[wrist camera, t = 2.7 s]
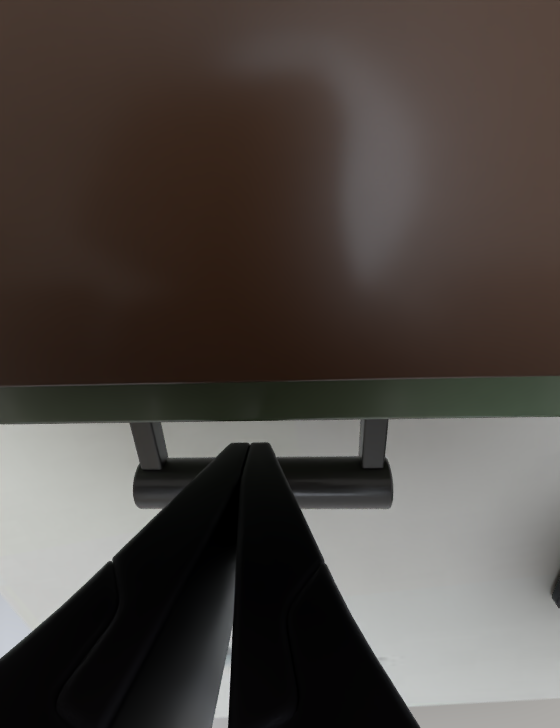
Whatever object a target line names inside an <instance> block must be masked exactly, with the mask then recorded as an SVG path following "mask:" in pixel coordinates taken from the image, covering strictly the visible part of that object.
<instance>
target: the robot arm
mask: <svg viewBox="0 0 560 728" xmlns="http://www.w3.org/2000/svg"><path fill="white" fill-rule="evenodd" d="M112 561H113V562H112ZM112 561H109V562H107V563H106V564H105V565H104V566H103V567H102V568H101V569H100V570H99V571H98V572H97V573H96V574H95V575H94V576H93V577H92V578H91V579H90V580H89V581H88V582H87V583H86V584H85V585H84V586H82V587H81V588H80V589H79V590H78V591H77V592H76V593H75V594H74V595H73V596H72V597H71V598H70V599H69V600H67V601H66V602H65V603H64V604H63V605H62V606H61V607H60V608H59V609H58V610H57V611H55V612H54V613H53V614H52V615H51V616H50V617H48V618H47V619H46V620H45V621H44V622H43V623H42V624H40V625H39V626H38V627H37V628H36V629H35V630H33V631H32V632H31V633H30V634H29V635H28V636H27V637H25V638H24V639H23V640H22V641H21V642H20V643H18V644H17V645H16V646H15V647H14V648H13V649H11V650H10V651H9V652H8V653H7V654H5V655H4V656H3V657H2V658H1V659H0V728H212V723H213V719H214V714H215V709H216V704H217V699H218V694H219V689H220V684H221V679H222V675H223V670H224V665H225V660H226V655H227V650H228V645H229V640H230V635H231V630H232V625H233V635H232V656H231V678H230V699H229V720H228V728H420V726H419V725H418V723H417V722H416V720H415V718H414V717H413V715H412V714H411V712H410V710H409V709H408V707H407V706H406V704H405V702H404V701H403V699H402V698H401V696H400V694H399V693H398V691H397V690H396V688H395V686H394V685H393V683H392V682H391V680H390V678H389V677H388V675H387V674H386V672H385V670H384V669H383V667H382V666H381V664H380V662H379V661H378V659H377V658H376V656H375V654H374V653H373V651H372V649H371V648H370V646H369V644H368V643H367V641H366V639H365V637H364V636H363V634H362V632H361V631H360V629H359V627H358V625H357V624H356V622H355V620H354V619H353V617H352V615H351V613H350V611H349V609H348V607H347V605H346V603H345V601H344V599H343V598H342V596H341V594H340V592H339V590H338V588H337V586H336V584H335V582H334V579H333V577H332V575H331V573H330V571H329V569H328V567H327V565H326V564H325V563H324V559H323V556H322V554H321V552H320V550H319V548H318V546H317V544H316V541H315V539H314V537H313V535H312V533H311V531H310V529H309V526H308V524H307V522H306V520H305V518H304V516H303V514H302V511H301V509H300V507H299V505H298V503H297V501H296V499H295V496H294V494H293V492H292V490H291V488H290V486H289V483H288V481H287V479H286V477H285V475H284V473H283V471H282V468H281V466H280V464H279V462H278V460H277V458H276V456H275V453H274V451H273V449H272V447H271V445H270V444H269V443H267V442H261V443H252V444H251V445H250V444H249V443H231V444H229V445H228V446H227V447H226V448H225V449H224V450H223V451H222V452H221V453H220V454H219V455H218V456H217V457H216V458H215V459H214V460H213V461H212V462H211V463H210V464H209V465H208V466H207V467H206V468H205V469H203V470H202V471H201V472H200V473H199V474H198V475H197V476H196V477H195V478H194V479H193V480H192V481H191V482H190V483H189V484H188V485H187V486H186V487H185V488H184V489H183V490H182V491H181V492H180V493H179V494H178V495H177V496H176V497H175V498H174V499H173V500H172V501H171V502H170V503H168V504H167V505H166V506H165V507H164V508H163V509H162V510H161V511H160V512H159V513H158V514H157V515H156V516H155V517H154V518H153V519H152V520H151V521H150V522H149V523H148V524H147V525H146V526H145V527H144V528H143V529H142V530H141V531H140V532H139V533H138V534H137V535H136V536H135V537H133V538H132V539H131V540H130V541H129V542H128V543H127V544H126V545H125V546H124V547H123V548H122V549H121V550H120V551H119V552H118V553H117V554H116V555H115V556H114V557H113V559H112ZM552 599H553V600H554V602H555V603H556V605H557V606H558V608H560V578H559V580H558V582H557V585H556V587H555V590H554V592H553V594H552Z"/></svg>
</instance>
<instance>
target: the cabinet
mask: <svg viewBox="0 0 560 728" xmlns="http://www.w3.org/2000/svg"><path fill="white" fill-rule="evenodd" d="M540 376H560V0H0V387H39V386H89V385H139V384H189V383H239V382H289V381H339V380H389V379H440V378H490V377H540Z"/></svg>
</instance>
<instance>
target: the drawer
mask: <svg viewBox="0 0 560 728" xmlns="http://www.w3.org/2000/svg"><path fill="white" fill-rule="evenodd" d="M496 417H560V376H540V377H490V378H440V379H389V380H339V381H289V382H239V383H189V384H139V385H89V386H39V387H0V424H62V423H130V426H131V430H132V434H133V438H134V442H135V446H136V450H137V454H138V457H139V461H140V464H139V465H138V467H137V470H136V473H135V477H134V483H133V497H134V501H135V504H136V505H137V507H139V508H141V509H163V508H164V507H165V506H166V505H167V504H168V503H170V502H171V501H172V500H173V499H174V498H175V497H176V496H177V495H178V494H179V493H180V492H181V491H182V490H183V489H184V488H185V487H186V486H187V485H188V484H189V483H190V482H191V481H192V480H193V479H194V478H195V477H196V476H197V475H198V474H199V473H200V472H201V471H202V470H203V469H205V468H206V467H207V466H208V465H209V464H210V463H211V462H212V461H213V460H214V459H215V458H216V457H212V458H168V454H167V449H166V445H165V440H164V435H163V431H162V426H161V422H207V421H279V420H352V419H361V422H360V439H359V456H336V457H276V458H277V460H278V462H279V464H280V466H281V468H282V471H283V473H284V475H285V477H286V479H287V481H288V483H289V486H290V488H291V490H292V492H293V494H294V496H295V499H296V501H297V503H298V505H299V507H300V509H389V508H390V507H391V505H392V501H393V480H392V473H391V468H390V465H389V462H388V460H387V458H386V457H385V451H386V440H387V430H388V419H424V418H496Z"/></svg>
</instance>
